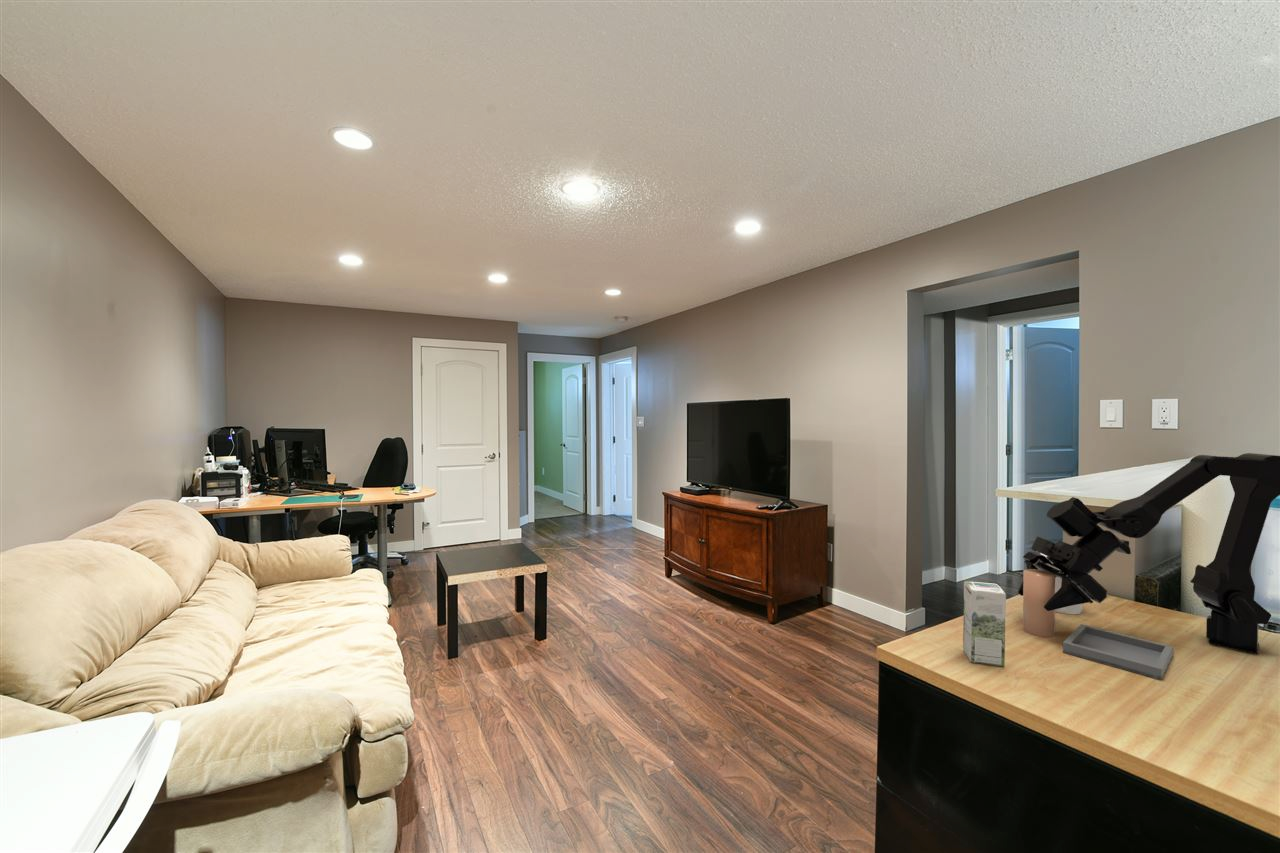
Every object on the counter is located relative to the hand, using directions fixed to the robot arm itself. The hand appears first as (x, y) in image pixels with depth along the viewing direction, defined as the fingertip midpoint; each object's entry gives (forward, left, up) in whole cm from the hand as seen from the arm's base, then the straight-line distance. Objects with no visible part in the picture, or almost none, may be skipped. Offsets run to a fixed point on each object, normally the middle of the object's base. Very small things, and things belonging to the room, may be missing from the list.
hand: (1032, 601), depth 113 cm
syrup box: (+2, +22, -7) cm, 23 cm away
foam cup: (-1, -21, -7) cm, 22 cm away
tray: (-14, 0, -7) cm, 15 cm away
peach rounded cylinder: (-1, -1, -7) cm, 7 cm away
